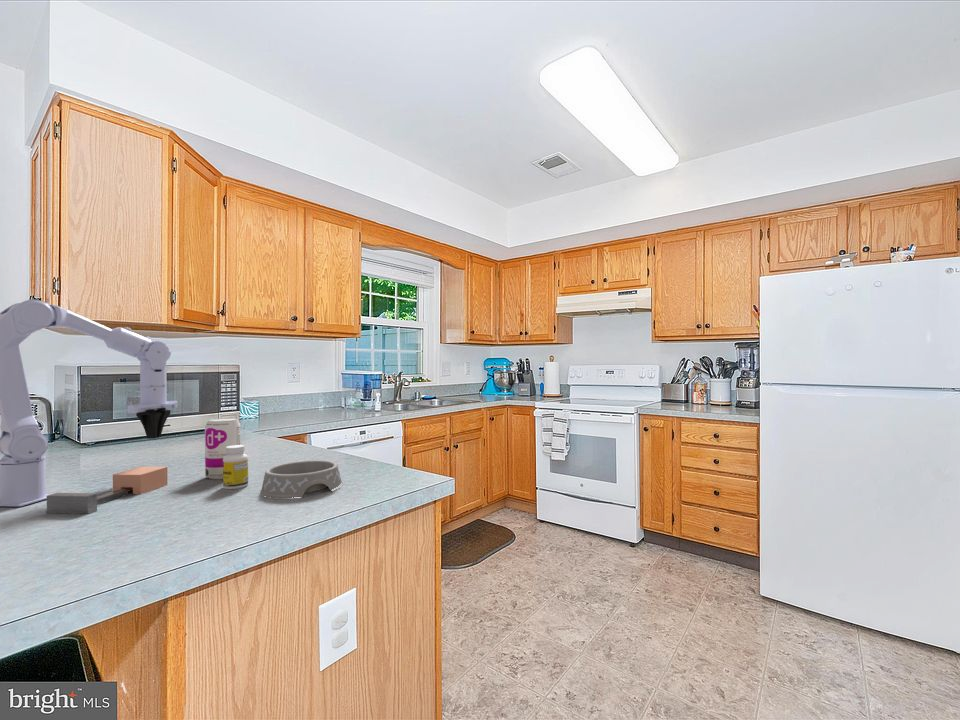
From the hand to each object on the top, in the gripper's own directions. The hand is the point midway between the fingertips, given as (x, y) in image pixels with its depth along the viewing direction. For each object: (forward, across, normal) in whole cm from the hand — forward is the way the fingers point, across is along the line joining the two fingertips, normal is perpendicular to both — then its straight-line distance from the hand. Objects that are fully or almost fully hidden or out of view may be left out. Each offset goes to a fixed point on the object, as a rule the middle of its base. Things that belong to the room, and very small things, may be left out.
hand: (153, 437), depth 121 cm
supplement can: (+11, +2, -18) cm, 21 cm away
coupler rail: (+10, -22, -6) cm, 25 cm away
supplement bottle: (+11, -8, -28) cm, 31 cm away
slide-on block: (+10, -11, -6) cm, 16 cm away
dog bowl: (+11, -8, -45) cm, 47 cm away
